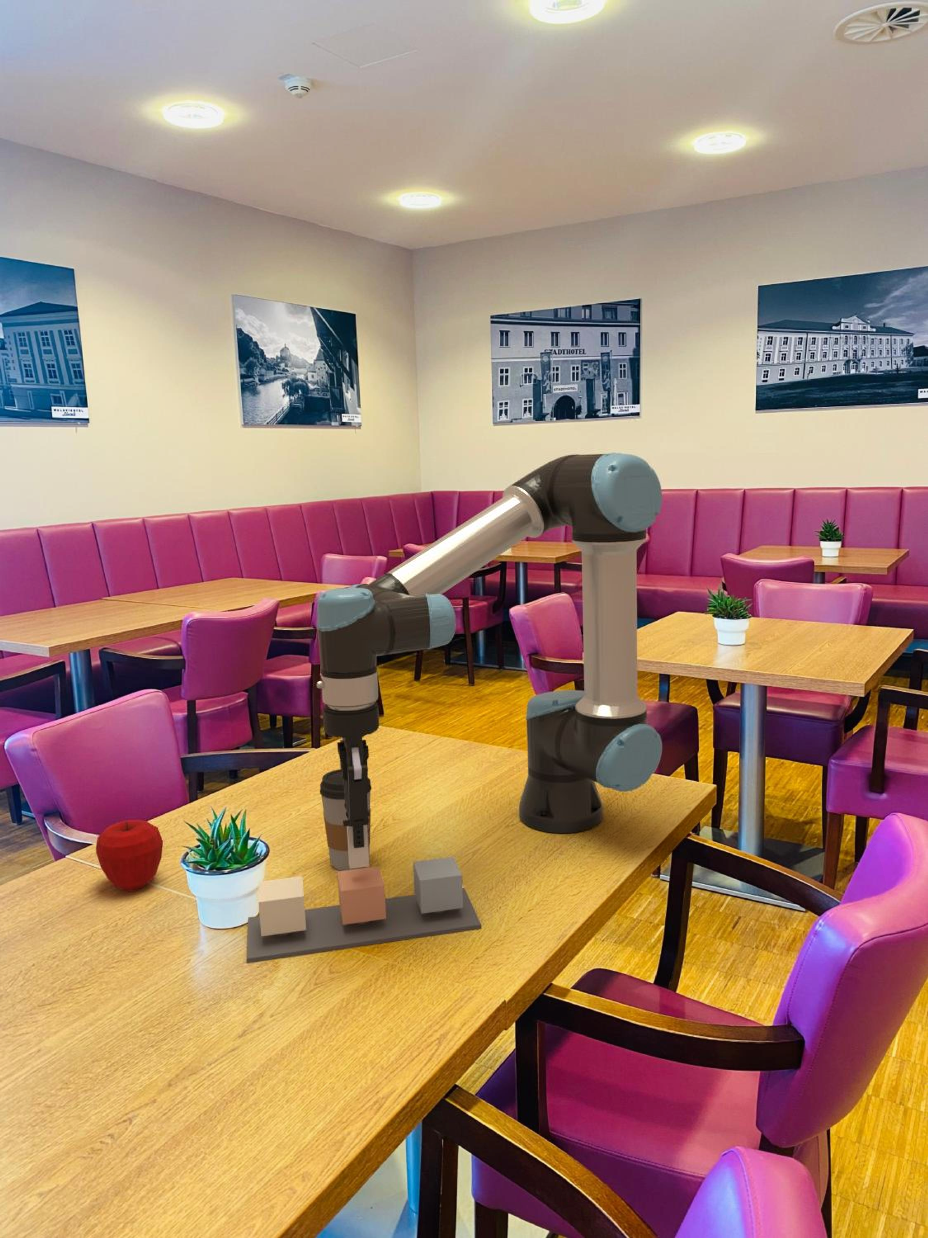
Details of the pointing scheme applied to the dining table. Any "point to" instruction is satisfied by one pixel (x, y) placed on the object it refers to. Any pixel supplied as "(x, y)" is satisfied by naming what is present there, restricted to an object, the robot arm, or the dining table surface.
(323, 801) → the coffee cup
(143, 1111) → the dining table surface
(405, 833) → the dining table surface
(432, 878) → the block slate
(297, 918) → the block cream
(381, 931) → the strip
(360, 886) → the block terracotta
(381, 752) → the dining table surface
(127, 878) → the apple
